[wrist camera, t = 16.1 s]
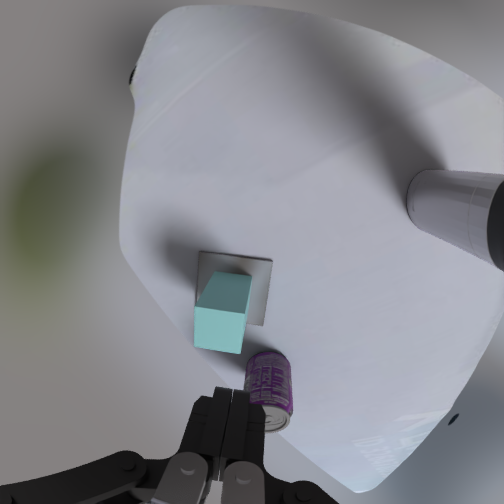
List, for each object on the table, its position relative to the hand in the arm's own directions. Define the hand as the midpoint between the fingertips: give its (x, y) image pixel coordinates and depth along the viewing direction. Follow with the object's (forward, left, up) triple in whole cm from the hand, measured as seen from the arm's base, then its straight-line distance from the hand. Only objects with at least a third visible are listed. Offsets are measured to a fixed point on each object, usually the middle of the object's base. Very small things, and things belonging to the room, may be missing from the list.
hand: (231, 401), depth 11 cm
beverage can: (-4, +20, -27) cm, 34 cm away
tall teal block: (+3, +7, -26) cm, 28 cm away
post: (+3, +7, -27) cm, 28 cm away
